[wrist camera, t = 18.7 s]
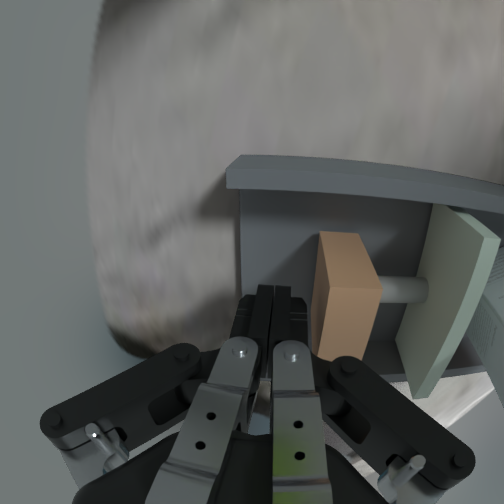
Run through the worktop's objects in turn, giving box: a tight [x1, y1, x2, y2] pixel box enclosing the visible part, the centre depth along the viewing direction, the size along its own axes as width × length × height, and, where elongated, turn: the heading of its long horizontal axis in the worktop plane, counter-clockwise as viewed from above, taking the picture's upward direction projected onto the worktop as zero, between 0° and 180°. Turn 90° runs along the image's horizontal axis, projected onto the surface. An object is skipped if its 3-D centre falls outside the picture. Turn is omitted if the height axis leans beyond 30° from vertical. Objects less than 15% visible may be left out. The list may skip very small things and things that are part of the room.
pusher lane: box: [226, 155, 504, 383], centre depth 14 cm, size 22×12×4 cm, turn 90°
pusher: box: [310, 203, 501, 399], centre depth 13 cm, size 7×10×5 cm
